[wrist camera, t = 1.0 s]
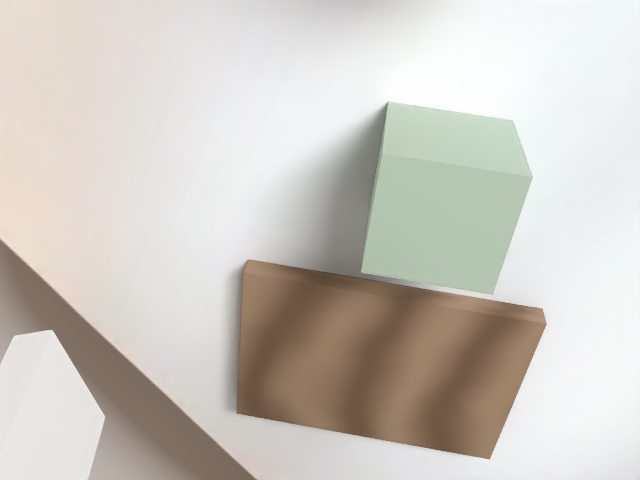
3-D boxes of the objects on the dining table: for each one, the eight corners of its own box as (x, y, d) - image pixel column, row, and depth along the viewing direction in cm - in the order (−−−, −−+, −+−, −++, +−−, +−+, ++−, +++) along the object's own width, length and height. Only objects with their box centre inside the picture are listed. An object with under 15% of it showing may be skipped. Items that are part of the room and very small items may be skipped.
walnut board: (542, 309, 40) (546, 323, 39) (487, 443, 48) (489, 459, 47) (248, 259, 41) (243, 272, 40) (241, 399, 49) (236, 413, 48)
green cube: (512, 120, 34) (532, 176, 28) (480, 225, 38) (492, 294, 32) (388, 101, 34) (382, 153, 28) (369, 207, 38) (360, 272, 32)
